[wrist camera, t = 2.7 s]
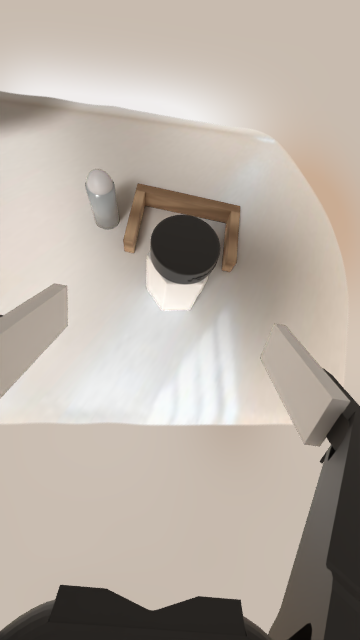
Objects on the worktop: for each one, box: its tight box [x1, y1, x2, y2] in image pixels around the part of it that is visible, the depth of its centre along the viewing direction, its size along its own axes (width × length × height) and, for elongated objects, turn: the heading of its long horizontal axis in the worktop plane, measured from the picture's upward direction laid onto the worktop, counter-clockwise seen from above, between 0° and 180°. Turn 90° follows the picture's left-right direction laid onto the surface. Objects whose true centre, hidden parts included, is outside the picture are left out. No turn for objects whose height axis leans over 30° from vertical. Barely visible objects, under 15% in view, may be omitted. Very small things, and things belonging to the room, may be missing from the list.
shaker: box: [85, 169, 119, 229], centre depth 37 cm, size 4×4×9 cm
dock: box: [123, 184, 240, 272], centre depth 41 cm, size 12×18×3 cm, turn 82°
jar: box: [146, 215, 220, 311], centre depth 33 cm, size 9×8×12 cm
